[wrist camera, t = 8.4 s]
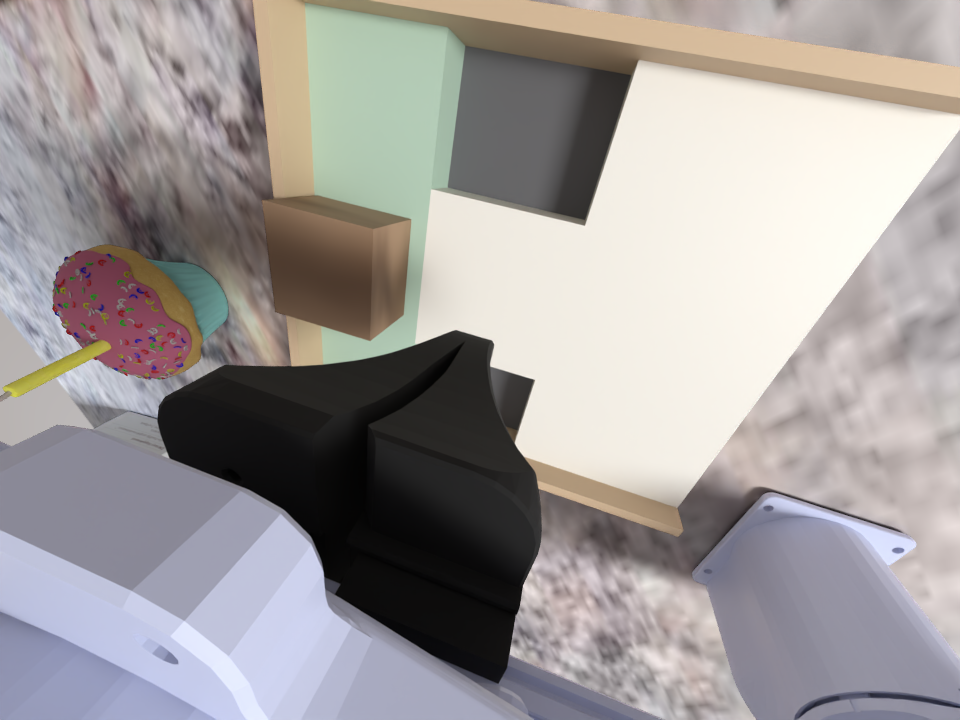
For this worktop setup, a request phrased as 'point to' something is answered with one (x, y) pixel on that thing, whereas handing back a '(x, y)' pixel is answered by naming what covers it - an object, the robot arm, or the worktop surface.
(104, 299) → the cupcake
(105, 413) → the worktop surface
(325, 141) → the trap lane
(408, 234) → the walnut block
